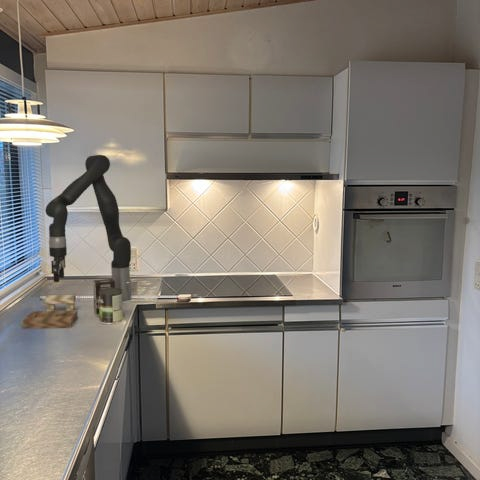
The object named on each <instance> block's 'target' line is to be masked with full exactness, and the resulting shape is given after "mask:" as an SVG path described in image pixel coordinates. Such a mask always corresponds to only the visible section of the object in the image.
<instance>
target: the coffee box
mask: <svg viewBox="0 0 480 480" xmlns="http://www.w3.org/2000/svg"><path fill="white" fill-rule="evenodd" d="M92 284H93V285H92V286H93V314H94V315H95V316H96V317H100V309H99V290H101V289H105V288H115V281H114V280H113V279H112V278H106V279H105V278H104V279H94V280H93V283H92Z"/></svg>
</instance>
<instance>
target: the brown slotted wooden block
mask: <svg viewBox="0 0 480 480" xmlns="http://www.w3.org/2000/svg"><path fill="white" fill-rule="evenodd" d="M78 317H79V315H78V310H75V311H67V310H55V311H47V310H32V311H30V312H29V314H27V315H26V316H25V317H24V318H23V319H22V329H23V330H27V329H26V328H29V330H30V328H31V330H32V328H34V329H35V330H36V329H37V328H39V329H67V328H66V327H71V328H73V326H74V325H75V323H76V322H77V320H78V319H79V318H78ZM73 324H74V325H73Z"/></svg>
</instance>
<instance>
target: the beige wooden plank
mask: <svg viewBox="0 0 480 480" xmlns="http://www.w3.org/2000/svg"><path fill="white" fill-rule="evenodd" d="M76 299H77V298H76V294H61V295H60V294H56V295H55V294H53V295H52V294H50V295H48V294H47V295H46V296H44V302H45V303H44V304H45V305H46V311H56V305H57V304H60V305H61V304H65V306H66V311H76V309H75V307H76V306H75V305H76V304H75V303H76V301H77V300H76Z"/></svg>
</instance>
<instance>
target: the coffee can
mask: <svg viewBox="0 0 480 480" xmlns="http://www.w3.org/2000/svg"><path fill="white" fill-rule="evenodd" d="M99 309H100V316H99V323H101V324H103V325H117V324H120V323H122V322H123V320H124V319H123V316H124V315H123V301H122V289H119V288H105V289H101V290H99Z"/></svg>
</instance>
